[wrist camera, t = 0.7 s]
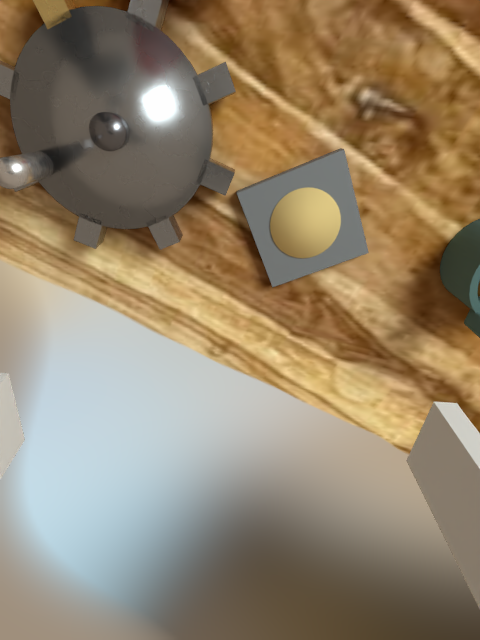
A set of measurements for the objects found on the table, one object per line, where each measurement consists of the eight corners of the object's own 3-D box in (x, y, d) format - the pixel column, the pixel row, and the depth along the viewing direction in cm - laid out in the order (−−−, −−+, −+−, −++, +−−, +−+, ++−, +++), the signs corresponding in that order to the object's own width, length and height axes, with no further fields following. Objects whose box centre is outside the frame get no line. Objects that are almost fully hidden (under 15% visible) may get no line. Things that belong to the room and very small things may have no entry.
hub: (69, 104, 29) (42, 103, 25) (139, 70, 28) (123, 63, 24) (110, 182, 31) (92, 191, 28) (175, 153, 30) (167, 159, 27)
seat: (236, 191, 32) (236, 193, 31) (340, 148, 30) (344, 149, 30) (271, 283, 36) (272, 287, 35) (364, 249, 35) (368, 253, 34)
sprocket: (-61, 47, 26) (-151, 26, 20) (175, -83, 23) (155, -153, 17) (83, 274, 34) (50, 309, 28) (271, 199, 31) (280, 219, 25)
